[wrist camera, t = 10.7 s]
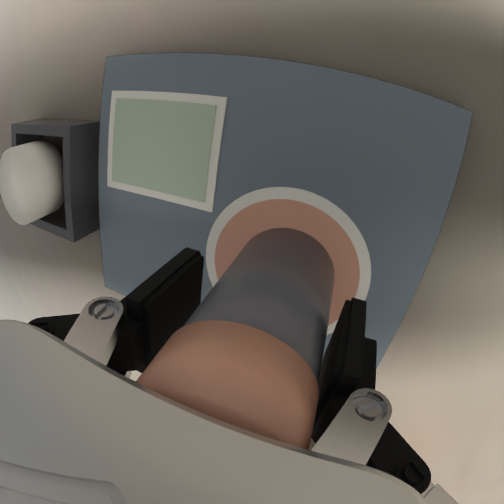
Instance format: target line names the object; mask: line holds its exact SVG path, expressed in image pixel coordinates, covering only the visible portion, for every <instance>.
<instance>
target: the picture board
mask: <svg viewBox="0 0 504 504" xmlns="http://www.w3.org/2000/svg"><path fill="white" fill-rule="evenodd" d="M472 114H473V112H471V111H468V110H466V109H464V108H461V107H459V106H456V105H454V104H451V103H449V102H446V101H443V100H441V99H438V98H435V97H432V96H430V95H427V94H424V93H421V92H418V91H415V90H412V89H409V88H406V87H402V86H399V85H396V84H392V83H389V82H385V81H382V80H378V79H374V78H371V77H367V76H363V75H359V74H355V73H350V72H346V71H341V70H337V69H332V68H327V67H322V66H316V65H311V64H305V63H299V62H292V61H286V60H278V59H270V58H262V57H252V56H241V55H227V54H207V53H151V54H132V55H118V56H107V57H106V65H105V73H104V82H103V92H102V103H101V116H100V134H99V219H100V238H101V252H102V264H103V274H104V283H105V287H107V288H109V289H112V290H114V291H116V292H118V293H121V294H123V295H125V296H127V295H128V294H129V293H131V292H132V291H133V290H134V289H135V288H137V287H138V286H139V285H140V284H141V283H143V282H144V281H145V280H146V279H147V278H149V277H150V276H151V275H152V274H153V273H155V272H156V271H157V270H158V269H160V268H161V267H162V266H163V265H164V264H166V263H167V262H168V261H169V260H171V259H172V258H173V257H174V256H176V255H177V254H178V253H179V252H181V251H182V250H183V249H184V248H186V247H188V248H191V249H195V250H198V251H200V253H201V255H202V256H203V257H204V266H203V278H202V290H201V302H202V301H203V300H204V298H205V297H206V296H207V294H208V293H209V292H210V291H211V289H212V288H213V287H214V285H215V284H216V283H217V281H218V280H219V279H220V278H221V276H222V275H223V274H224V272H225V271H226V270H227V268H228V267H229V266H230V265H231V263H232V262H233V261H234V259H235V258H236V257H237V255H238V254H239V253H240V252H241V250H242V249H243V248H244V246H245V245H246V244H247V243H248V241H249V240H251V239H252V238H253V237H254V236H256V235H257V234H259V233H261V232H263V231H266V230H269V229H273V228H291V229H296V230H299V231H302V232H304V233H306V234H308V235H310V236H312V237H313V238H315V239H316V240H317V241H318V242H319V243H320V244H321V245H322V246H323V247H324V248H325V249H326V251H327V252H328V254H329V256H330V258H331V260H332V263H333V267H334V275H335V277H334V286H333V294H332V301H331V308H330V315H329V322H328V329H327V335H326V341H325V348H324V354H325V351H326V349H327V346H328V344H329V341H330V339H331V336H332V334H333V331H334V329H335V326H336V324H337V321H338V319H339V316H340V313H341V311H342V308H343V306H344V303H345V300H350V301H351V299H352V297H353V298H357V299H360V300H364V301H366V302H367V306H366V328H365V337H366V338H370V339H374V340H376V341H377V359H376V368H377V366H378V364H379V363H380V361H381V359H382V357H383V355H384V354H385V352H386V350H387V348H388V346H389V344H390V342H391V341H392V339H393V337H394V335H395V333H396V331H397V329H398V327H399V325H400V323H401V321H402V319H403V317H404V315H405V313H406V311H407V308H408V306H409V304H410V302H411V300H412V298H413V296H414V293H415V291H416V289H417V287H418V284H419V282H420V280H421V277H422V275H423V273H424V270H425V268H426V265H427V263H428V261H429V258H430V256H431V253H432V250H433V248H434V245H435V243H436V240H437V237H438V235H439V232H440V229H441V226H442V223H443V221H444V218H445V215H446V212H447V209H448V206H449V203H450V199H451V196H452V193H453V190H454V187H455V183H456V180H457V176H458V173H459V169H460V165H461V162H462V158H463V154H464V150H465V146H466V142H467V137H468V133H469V128H470V124H471V119H472ZM200 304H201V303H200ZM324 354H323V357H324ZM322 360H323V359H322Z"/></svg>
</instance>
